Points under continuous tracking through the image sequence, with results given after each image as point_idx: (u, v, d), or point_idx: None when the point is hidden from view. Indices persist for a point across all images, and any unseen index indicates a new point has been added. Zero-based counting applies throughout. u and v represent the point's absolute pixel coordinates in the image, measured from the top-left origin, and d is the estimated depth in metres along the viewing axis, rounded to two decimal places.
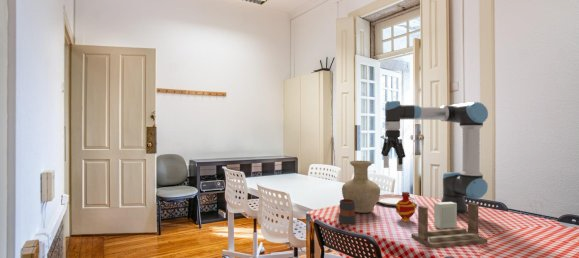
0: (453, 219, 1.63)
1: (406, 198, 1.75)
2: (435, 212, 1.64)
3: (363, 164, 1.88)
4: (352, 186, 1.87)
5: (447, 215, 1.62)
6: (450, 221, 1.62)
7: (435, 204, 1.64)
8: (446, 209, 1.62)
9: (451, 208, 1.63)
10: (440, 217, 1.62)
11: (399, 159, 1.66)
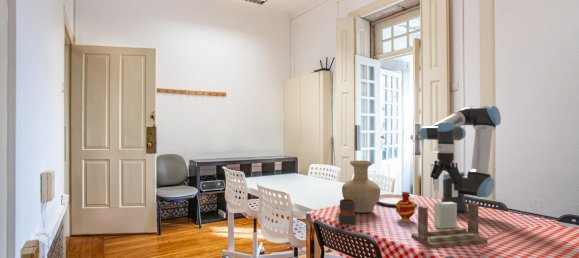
0: (453, 219, 1.63)
1: (406, 198, 1.75)
2: (435, 212, 1.64)
3: (363, 164, 1.88)
4: (352, 186, 1.87)
5: (447, 215, 1.62)
6: (450, 221, 1.62)
7: (435, 204, 1.64)
8: (446, 209, 1.62)
9: (451, 208, 1.63)
10: (440, 217, 1.62)
11: (455, 184, 1.57)
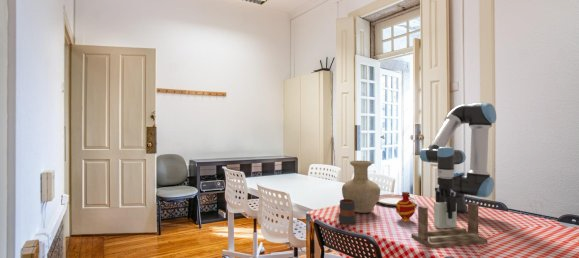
0: (453, 219, 1.63)
1: (406, 198, 1.75)
2: (435, 212, 1.65)
3: (363, 164, 1.88)
4: (352, 186, 1.87)
5: None
6: None
7: (435, 204, 1.65)
8: (446, 209, 1.62)
9: None
10: (440, 217, 1.62)
11: (449, 213, 1.61)
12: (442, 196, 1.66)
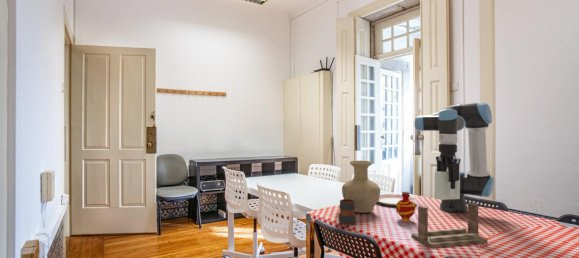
0: (456, 190, 1.46)
1: (406, 198, 1.75)
2: (436, 182, 1.48)
3: (363, 164, 1.88)
4: (352, 186, 1.87)
5: None
6: None
7: (436, 173, 1.48)
8: (448, 178, 1.45)
9: None
10: (441, 187, 1.45)
11: (451, 183, 1.44)
12: (444, 165, 1.49)
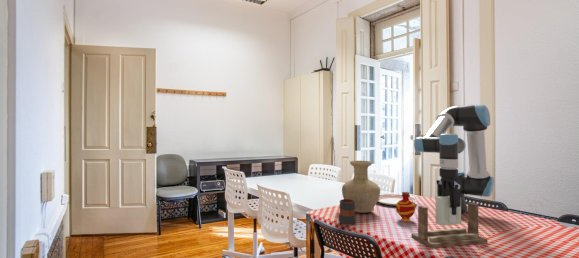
0: (457, 215, 1.44)
1: (406, 198, 1.75)
2: (436, 207, 1.45)
3: (363, 164, 1.88)
4: (352, 186, 1.87)
5: None
6: None
7: (436, 198, 1.45)
8: (449, 204, 1.43)
9: None
10: (442, 213, 1.42)
11: (452, 208, 1.42)
12: (445, 189, 1.46)
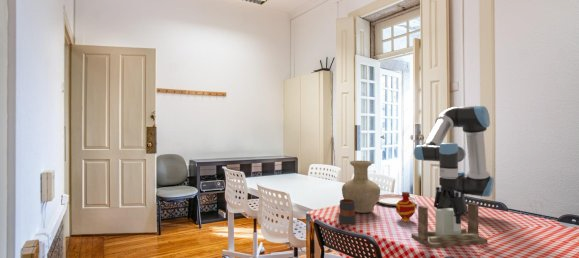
0: None
1: (406, 198, 1.75)
2: (436, 220, 1.45)
3: (363, 164, 1.88)
4: (352, 186, 1.87)
5: (450, 223, 1.43)
6: None
7: (436, 211, 1.45)
8: (449, 216, 1.43)
9: None
10: (442, 226, 1.42)
11: (457, 217, 1.39)
12: (443, 198, 1.47)
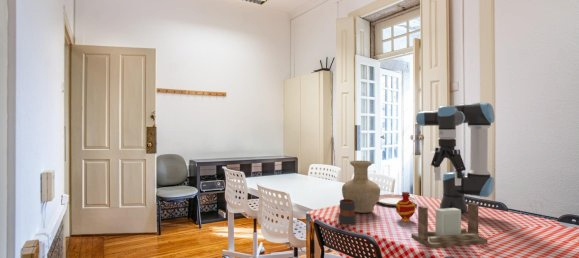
0: (457, 228, 1.44)
1: (406, 198, 1.75)
2: (436, 220, 1.45)
3: (363, 164, 1.88)
4: (352, 186, 1.87)
5: (450, 223, 1.43)
6: (453, 230, 1.43)
7: (436, 211, 1.45)
8: (449, 216, 1.43)
9: (455, 215, 1.44)
10: (442, 226, 1.42)
11: (458, 172, 1.47)
12: (441, 157, 1.58)
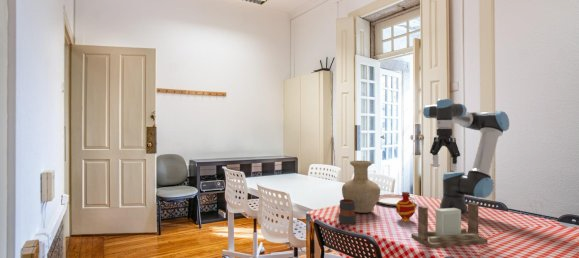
0: (457, 228, 1.44)
1: (406, 198, 1.75)
2: (436, 220, 1.45)
3: (363, 164, 1.88)
4: (352, 186, 1.87)
5: (450, 223, 1.43)
6: (453, 230, 1.43)
7: (436, 211, 1.45)
8: (449, 216, 1.43)
9: (455, 215, 1.44)
10: (442, 226, 1.42)
11: (453, 158, 1.63)
12: (439, 145, 1.74)
